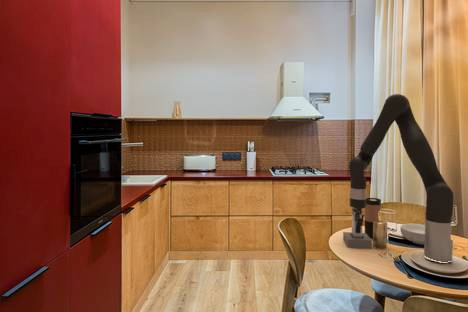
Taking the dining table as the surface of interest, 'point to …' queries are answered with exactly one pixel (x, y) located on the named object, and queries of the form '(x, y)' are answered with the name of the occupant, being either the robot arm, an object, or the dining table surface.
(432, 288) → the dining table surface
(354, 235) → the square bit
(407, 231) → the cereal bowl
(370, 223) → the travel mug
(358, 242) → the socket block
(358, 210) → the robot arm
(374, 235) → the round bit
